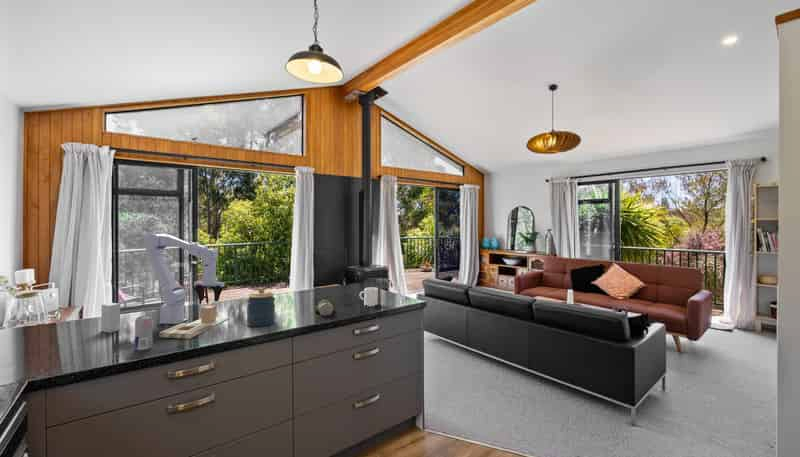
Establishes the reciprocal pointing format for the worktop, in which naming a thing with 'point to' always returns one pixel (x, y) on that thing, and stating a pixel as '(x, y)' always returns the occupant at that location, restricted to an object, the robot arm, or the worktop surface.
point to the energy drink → (143, 333)
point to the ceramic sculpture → (324, 307)
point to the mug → (370, 296)
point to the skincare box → (110, 317)
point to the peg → (208, 314)
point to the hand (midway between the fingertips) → (209, 300)
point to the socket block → (185, 330)
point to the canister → (260, 308)
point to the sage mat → (214, 323)
